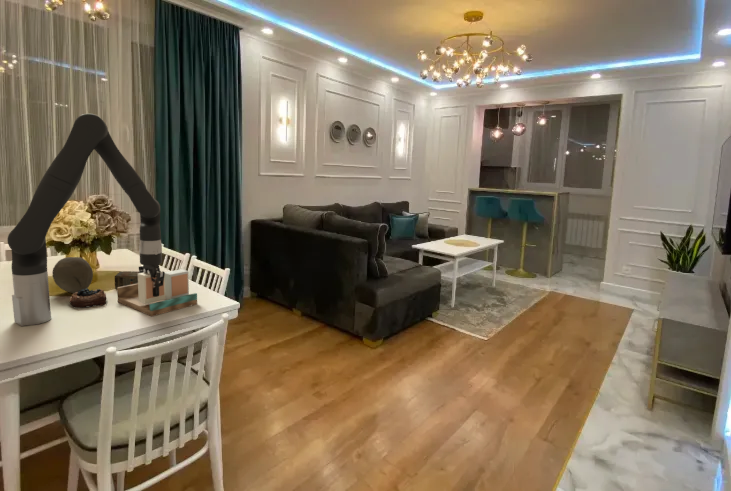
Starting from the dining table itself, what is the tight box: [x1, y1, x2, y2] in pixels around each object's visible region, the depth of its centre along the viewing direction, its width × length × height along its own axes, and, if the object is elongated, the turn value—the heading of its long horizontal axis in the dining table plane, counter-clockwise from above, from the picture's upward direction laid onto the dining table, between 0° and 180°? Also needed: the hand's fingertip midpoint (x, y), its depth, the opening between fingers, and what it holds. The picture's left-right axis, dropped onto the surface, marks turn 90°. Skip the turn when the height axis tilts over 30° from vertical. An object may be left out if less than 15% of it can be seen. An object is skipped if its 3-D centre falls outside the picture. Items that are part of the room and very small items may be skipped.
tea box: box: [138, 270, 165, 304], centre depth 158 cm, size 8×5×11 cm, turn 147°
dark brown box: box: [114, 270, 139, 290], centre depth 185 cm, size 8×19×7 cm, turn 104°
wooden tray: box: [116, 283, 198, 317], centre depth 166 cm, size 19×24×6 cm
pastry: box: [68, 287, 107, 309], centre depth 161 cm, size 11×12×6 cm
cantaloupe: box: [52, 256, 94, 294], centre depth 171 cm, size 14×14×15 cm
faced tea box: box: [164, 268, 190, 300], centre depth 166 cm, size 8×5×11 cm, turn 147°
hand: (152, 294), depth 158 cm, fingers closed on tea box, 4 cm apart
